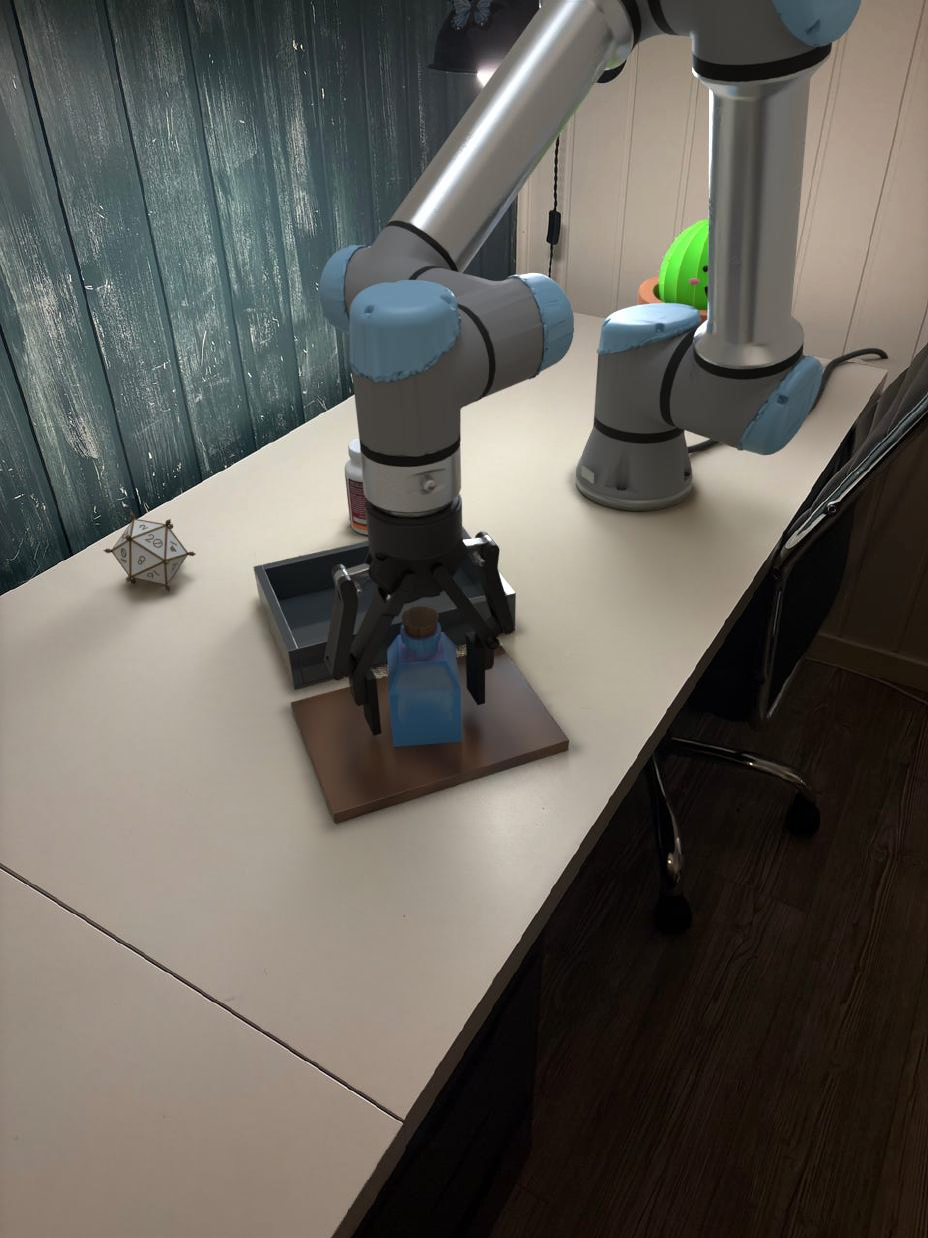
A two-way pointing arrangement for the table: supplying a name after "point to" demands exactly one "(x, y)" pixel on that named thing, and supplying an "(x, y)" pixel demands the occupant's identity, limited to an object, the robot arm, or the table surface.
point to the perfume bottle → (423, 682)
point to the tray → (305, 602)
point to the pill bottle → (355, 488)
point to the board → (385, 775)
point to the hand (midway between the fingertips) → (425, 710)
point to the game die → (149, 552)
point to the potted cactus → (682, 273)
